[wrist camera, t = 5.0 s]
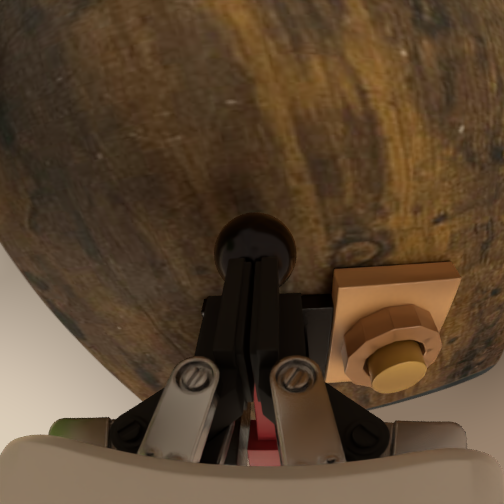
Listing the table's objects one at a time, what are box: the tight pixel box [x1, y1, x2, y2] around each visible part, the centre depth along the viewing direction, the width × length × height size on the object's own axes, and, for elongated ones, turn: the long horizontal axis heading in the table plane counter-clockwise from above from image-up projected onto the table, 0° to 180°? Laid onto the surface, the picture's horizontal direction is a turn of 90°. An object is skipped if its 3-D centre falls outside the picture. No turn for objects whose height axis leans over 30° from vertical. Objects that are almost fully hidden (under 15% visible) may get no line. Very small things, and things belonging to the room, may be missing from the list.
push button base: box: [325, 262, 461, 387], centre depth 19 cm, size 10×8×4 cm
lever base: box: [201, 294, 334, 466], centre depth 19 cm, size 10×8×10 cm
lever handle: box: [214, 213, 296, 466], centre depth 14 cm, size 15×3×3 cm, turn 6°
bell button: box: [367, 340, 427, 393], centre depth 17 cm, size 4×4×2 cm
